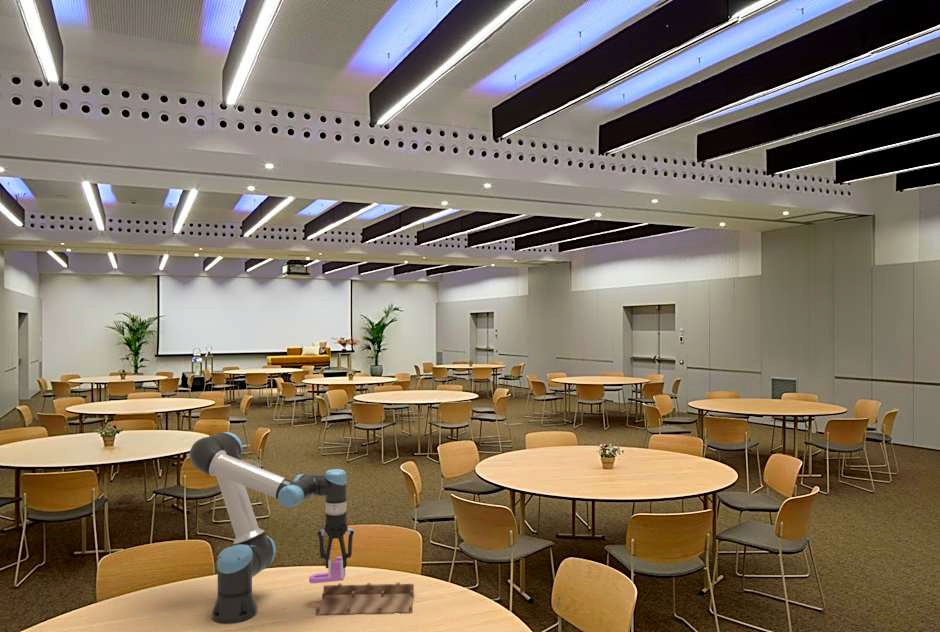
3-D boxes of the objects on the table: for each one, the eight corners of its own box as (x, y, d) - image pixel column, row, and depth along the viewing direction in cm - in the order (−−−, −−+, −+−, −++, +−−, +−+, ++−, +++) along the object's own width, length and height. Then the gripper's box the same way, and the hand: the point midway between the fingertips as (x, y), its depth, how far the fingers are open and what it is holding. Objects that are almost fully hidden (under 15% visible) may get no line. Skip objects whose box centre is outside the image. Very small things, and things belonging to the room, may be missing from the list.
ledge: (315, 617, 233) (315, 603, 233) (324, 596, 250) (324, 583, 250) (411, 615, 234) (411, 601, 234) (413, 595, 251) (413, 582, 251)
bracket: (345, 574, 247) (343, 556, 247) (342, 580, 241) (340, 561, 241) (311, 577, 247) (309, 559, 247) (307, 584, 241) (305, 565, 241)
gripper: (310, 516, 236) (311, 581, 236) (357, 515, 237) (357, 580, 237) (314, 510, 244) (315, 573, 244) (360, 509, 245) (360, 572, 245)
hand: (336, 576), depth 240 cm, fingers closed on bracket, 4 cm apart
